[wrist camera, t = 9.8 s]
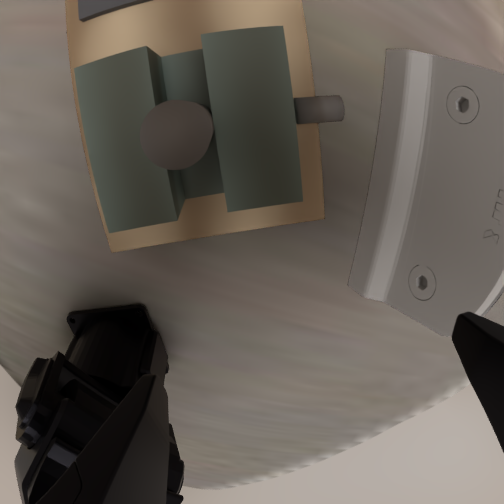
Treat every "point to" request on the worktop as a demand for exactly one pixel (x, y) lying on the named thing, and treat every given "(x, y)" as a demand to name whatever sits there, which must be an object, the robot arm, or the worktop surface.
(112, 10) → the mat
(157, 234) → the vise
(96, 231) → the worktop surface
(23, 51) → the worktop surface
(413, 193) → the grey arched bracket
